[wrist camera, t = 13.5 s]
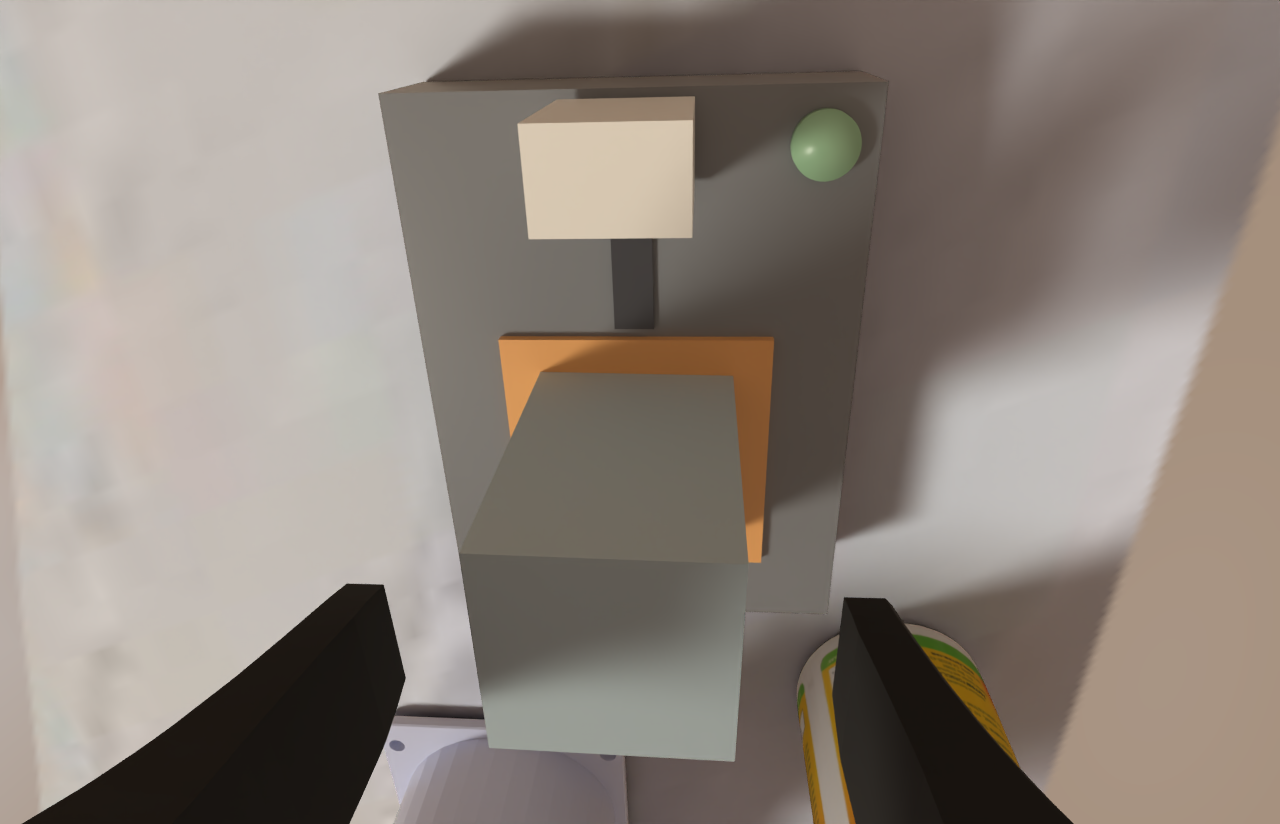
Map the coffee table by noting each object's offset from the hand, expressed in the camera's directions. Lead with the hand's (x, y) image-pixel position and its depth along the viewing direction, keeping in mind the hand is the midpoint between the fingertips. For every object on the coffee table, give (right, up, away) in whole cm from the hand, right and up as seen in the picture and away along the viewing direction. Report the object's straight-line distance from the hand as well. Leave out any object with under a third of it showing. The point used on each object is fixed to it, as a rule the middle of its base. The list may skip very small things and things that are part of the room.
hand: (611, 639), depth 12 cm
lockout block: (0, +3, +5) cm, 5 cm away
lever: (0, +8, +2) cm, 8 cm away
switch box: (+1, +5, +6) cm, 8 cm away
